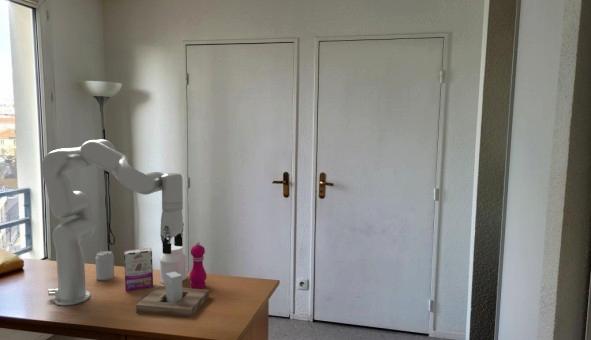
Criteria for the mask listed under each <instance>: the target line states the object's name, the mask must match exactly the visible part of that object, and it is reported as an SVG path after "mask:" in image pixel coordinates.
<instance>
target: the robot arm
mask: <svg viewBox="0 0 591 340" xmlns="http://www.w3.org/2000/svg"><path fill="white" fill-rule="evenodd" d="M94 165H95V166H96V167H98V168H100V169H102V170H104V171H106V172H107V173H109V174H111V175H112V176H114V177H115V179H116V180H117V181H118V182H119V183H120V184H121V185H122V186H124V187H125V188H128V189H129V190H132V191H134V192H135V193H136V194H137V193H138V194H140V195H146V196H148V195H150V194H154V193H157V192H160V191H161V211H162V212H161V217H160V240H161V244H162V255H163V254H171V245H172V243H171V242H172V238H174V241H173V242H174V243H173V245H175V246H182V247H183V236H184V233H183V232H184V225H185V224H184V220H183V219H184V218H183V217H184V216H183V210H184V209H183V208H184V206H183V203H184V201H183V198H184V197H183V193H184V192H183V182H184V181H183V176H182V174H180V173H176V172H173V173H171V172H168V173H166V172H161V171H153V172H152V171H151V172H147V173H143V172H141V171H139V170H137V169H136V168H134V167H132V166H131V165H130V164H129V159H128V156H127V155H125V154H123V153H121V152H120V151H119V150H116V147H115V145H114V144H113V143H112V142H111V141H110V140H107V139H90V140H88V141H85V142H84V143H82V145H81V146H78V147H66V148H63V147H62V148H58V149H54V150H52V151H50V152H48V153H46V155H45V156H44V157H43V159H42V160H41V163H40V170H41V175H42V179H43V181H44V184H45V187H46V192H47V198H48V201H49V206H50V210H51V211H50V212H51V213H52V215H53V216H54V217H55V218H57V219H66V218H70V219H69V220H66V221H63V222H61V223H59V224H57V226H55V227H54V229H53V231H52V240H53V244H54V248H55V257H56V258H55V259H56V272H57V288H49V289H48V290H47V294H48V296H49V297H51V296H52V297H54V298H53V302H54V304H55V305H58V306H72V305H77V304H81V303H83V302H85V301H87V300H88V299H90V297H91V293H90V291H88V290H86V289H87V288H86V269H85V252H84V249H83V247H82V245H81V242H82V241H85V240H87V239H88V238H89V239H90V237H92V236H93V235H94V233H95V230H96V223H95V218H94V217H95V216H94V213H93V208H92V204H91V200H90V199H89V197H88V195H87V194H86V193H85V192H83V191H80V190H73V186H72V181H71V180H70V177H69V176H68V174H66V172H67V171H72V170H79V169H84V168H88V167H90V166H94Z"/></svg>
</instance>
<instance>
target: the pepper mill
mask: <svg viewBox="0 0 591 340" xmlns="http://www.w3.org/2000/svg"><path fill="white" fill-rule="evenodd" d="M205 252H206V249H205V247H204V246H203V245H201V242H199V241H196V242H195V245H193V246H192V247H191V248H190V254H191V261H192V268H191V270H190V273H189V280H190V288H191V289H204V288H206V284H207V283H206V280H207V276H208V275H207V272H206V270H205V267H204V262H203V261H204V259H205V257H204V255H205Z"/></svg>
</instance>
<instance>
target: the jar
mask: <svg viewBox="0 0 591 340" xmlns="http://www.w3.org/2000/svg"><path fill="white" fill-rule="evenodd" d="M183 249H184V248H183V246H175V245H174V244H171V254H163V253H162V255H161V256H160V258H159V265H160V266H159V269H160V270H159V271H160V272H159V273H160V274H159V275H160V276H159V277H160V279H159V281H160V283H162V284H164V285H166V273H171V272H177V273H179V274H180V275H182V282H184V281H185V280H186V279H187V278H188V276H187V272H188V271H187V267H188V266H187V259H188V257H187V256H186V254H185V253H184V250H183Z"/></svg>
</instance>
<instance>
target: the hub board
mask: <svg viewBox="0 0 591 340" xmlns="http://www.w3.org/2000/svg"><path fill="white" fill-rule="evenodd" d="M209 297H210V290H209V289H204V288H203V289H192V288H191V287H189V288H188V287H182V299H181V300H180V301H179V302H178V303H166V285H165V286H163V285H159V286H158V287H156V288H155V289H154V290H152V292H150V293H149V294H148V295H146V296H145V297H143V298H142V299H141V300H140V301H139V302H138V303H136V304H135V312H136V313H141V314H150V315H162V316H170V317H171V316H173V317H184V318H192V317H193V316H194V315H195V314H196V312H197V311H198V310H199V309H200V308H201V307H202V306H203V304H204V303H205V302H206V301H207V300H208V299H209Z"/></svg>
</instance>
